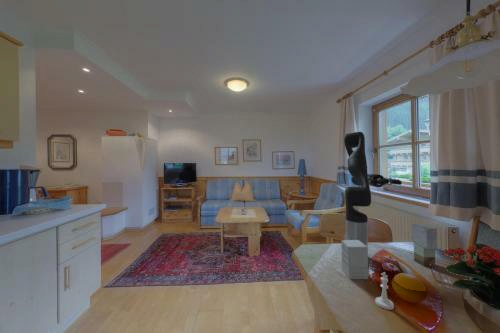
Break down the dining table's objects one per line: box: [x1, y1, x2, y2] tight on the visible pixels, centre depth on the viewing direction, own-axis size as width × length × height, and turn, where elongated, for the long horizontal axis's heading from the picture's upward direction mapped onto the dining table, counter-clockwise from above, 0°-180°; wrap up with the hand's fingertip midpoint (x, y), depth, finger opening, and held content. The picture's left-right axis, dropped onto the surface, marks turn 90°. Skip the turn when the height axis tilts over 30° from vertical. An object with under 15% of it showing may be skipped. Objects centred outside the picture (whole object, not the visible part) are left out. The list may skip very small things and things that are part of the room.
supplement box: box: [340, 239, 369, 280], centre depth 80 cm, size 7×7×13 cm
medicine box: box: [411, 223, 438, 250], centre depth 88 cm, size 8×4×9 cm, turn 1°
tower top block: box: [413, 243, 436, 258], centre depth 88 cm, size 5×5×4 cm
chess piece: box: [374, 271, 395, 310], centre depth 63 cm, size 5×5×10 cm
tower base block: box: [413, 252, 436, 267], centre depth 88 cm, size 5×5×4 cm
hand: (392, 182), depth 105 cm, fingers open, 8 cm apart
